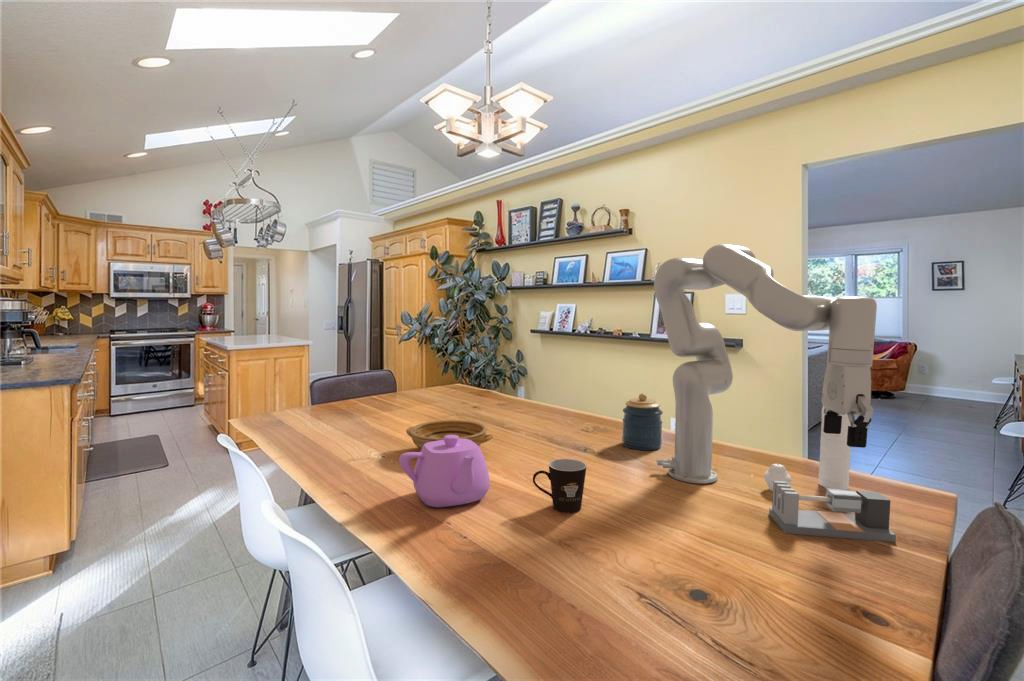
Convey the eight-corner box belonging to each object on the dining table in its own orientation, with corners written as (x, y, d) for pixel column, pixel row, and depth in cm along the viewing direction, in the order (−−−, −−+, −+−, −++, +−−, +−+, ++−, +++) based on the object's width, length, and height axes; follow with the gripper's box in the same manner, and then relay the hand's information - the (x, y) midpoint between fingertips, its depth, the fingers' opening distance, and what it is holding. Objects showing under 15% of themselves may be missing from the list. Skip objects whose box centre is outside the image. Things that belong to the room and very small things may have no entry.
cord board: (784, 533, 96) (786, 494, 95) (769, 514, 104) (770, 479, 104) (895, 542, 92) (897, 502, 92) (869, 522, 101) (871, 485, 100)
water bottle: (848, 493, 117) (853, 393, 115) (817, 487, 121) (822, 391, 119) (848, 482, 124) (853, 389, 123) (819, 477, 128) (823, 386, 126)
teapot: (392, 493, 116) (392, 433, 115) (473, 480, 125) (473, 424, 124) (414, 532, 95) (413, 460, 94) (508, 514, 104) (508, 447, 103)
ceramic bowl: (506, 447, 155) (506, 423, 154) (475, 471, 132) (475, 443, 132) (427, 439, 165) (427, 416, 164) (386, 459, 142) (386, 433, 142)
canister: (667, 451, 152) (668, 397, 151) (626, 451, 152) (627, 397, 151) (655, 440, 165) (656, 390, 164) (618, 440, 165) (619, 390, 164)
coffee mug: (588, 502, 110) (589, 461, 110) (582, 517, 102) (582, 473, 102) (541, 496, 114) (541, 455, 114) (531, 510, 106) (531, 467, 106)
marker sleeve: (833, 511, 96) (834, 494, 96) (825, 503, 100) (825, 488, 100) (860, 512, 95) (861, 496, 95) (851, 505, 99) (852, 490, 99)
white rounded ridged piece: (767, 484, 123) (768, 458, 122) (794, 490, 118) (795, 463, 118) (759, 490, 118) (760, 463, 118) (786, 497, 114) (788, 469, 114)
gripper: (810, 352, 105) (805, 427, 106) (851, 362, 88) (844, 451, 89) (847, 353, 103) (842, 429, 105) (896, 363, 86) (889, 454, 88)
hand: (843, 439), depth 97 cm, fingers open, 9 cm apart
